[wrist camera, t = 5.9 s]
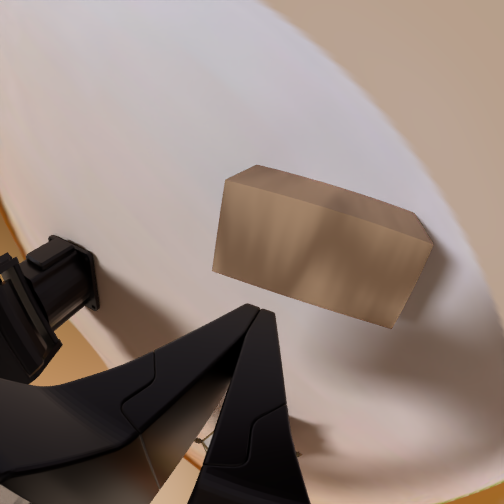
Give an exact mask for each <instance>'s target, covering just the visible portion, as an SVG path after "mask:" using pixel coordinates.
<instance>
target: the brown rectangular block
mask: <svg viewBox="0 0 504 504" xmlns="http://www.w3.org/2000/svg"><path fill="white" fill-rule="evenodd" d="M433 245H434V244H433V243H432V241H431V239H430V238H429V236H428V234H427V233H426V231H425V229H424V228H423V226H422V225H421V223H420V221H419V220H418V218H417V217H416V215H415V214H414V213H413V212H411V211H408V210H405V209H402V208H400V207H397V206H394V205H391V204H388V203H386V202H383V201H380V200H377V199H374V198H371V197H368V196H365V195H362V194H359V193H356V192H353V191H349V190H346V189H343V188H340V187H337V186H333V185H330V184H327V183H323V182H320V181H316V180H313V179H309V178H306V177H302V176H299V175H295V174H291V173H288V172H284V171H280V170H276V169H272V168H268V167H264V166H260V165H255V166H253V167H251V168H249V169H247V170H245V171H242V172H240V173H238V174H236V175H234V176H232V177H230V178H228V179H226V180H225V185H224V191H223V198H222V204H221V211H220V218H219V225H218V232H217V239H216V246H215V253H214V261H213V268H212V271H214V272H216V273H219V274H222V275H225V276H228V277H231V278H234V279H237V280H240V281H242V282H245V283H248V284H251V285H254V286H257V287H260V288H263V289H266V290H269V291H272V292H275V293H278V294H281V295H284V296H287V297H290V298H293V299H296V300H300V301H303V302H306V303H309V304H312V305H315V306H318V307H321V308H325V309H328V310H331V311H334V312H337V313H340V314H344V315H347V316H350V317H353V318H357V319H360V320H363V321H367V322H370V323H373V324H377V325H380V326H383V327H387V328H390V329H392V328H393V326H394V324H395V322H396V320H397V319H398V317H399V315H400V313H401V311H402V310H403V308H404V306H405V304H406V302H407V300H408V298H409V296H410V294H411V292H412V290H413V288H414V286H415V284H416V282H417V280H418V278H419V276H420V274H421V272H422V270H423V268H424V265H425V263H426V261H427V259H428V257H429V254H430V252H431V250H432V247H433Z"/></svg>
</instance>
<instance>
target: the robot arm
mask: <svg viewBox="0 0 504 504" xmlns="http://www.w3.org/2000/svg"><path fill="white" fill-rule="evenodd" d="M48 240H49V242H48V243H46V244H44V245H42V246H40V247H39V248H37V249H35V250H33V251H32V252H30V253H28V254H27V255H26V260H25V261H23V262H22V263H20V264H19V261H18V259H17V257H15V258H13V259H12V257H11V256H10V255H9V254H8V253H5V254H4V255H2V256H0V274H1V275H2V277H3V279H4V281H3V282H2V280H1V279H0V504H150V503H151V501H152V500H153V498H154V497H155V496H156V494H157V493H158V491H159V489H161V487H162V486H163V485H164V483H165V482H166V480H167V479H168V478H169V476H170V475H171V473H172V472H173V471H174V469H175V467H176V466H177V465H178V463H179V462H180V460H181V459H182V458H183V456H184V455H185V453H186V452H187V450H188V449H189V447H190V446H191V444H192V443H193V442H194V440H195V439H196V437H197V436H198V434H199V433H200V431H201V430H202V428H203V427H204V425H205V424H206V422H207V420H208V419H209V417H210V416H211V414H212V413H213V411H214V410H215V408H216V407H217V405H218V403H219V402H220V400H221V399H222V397H223V396H224V394H225V393H226V391H227V393H226V396H225V399H224V402H223V405H222V408H221V411H220V414H219V417H218V420H217V423H216V426H215V429H214V432H213V435H212V438H211V441H210V444H209V447H208V450H207V453H206V456H205V459H204V462H203V466H202V467H201V470H200V473H199V476H198V479H197V481H196V484H195V487H194V489H193V492H192V494H191V496H190V498H189V501H188V503H187V504H311V503H310V500H309V497H308V494H307V490H306V487H305V483H304V480H303V476H302V473H301V469H300V466H299V462H298V459H297V455H296V452H295V447H294V443H293V439H292V435H291V429H290V422H289V416H288V408H287V405H286V404H287V401H286V393H285V385H284V377H283V369H282V362H281V354H280V346H279V339H278V331H277V324H276V316H275V313H274V312H271V311H268V310H266V309H261V310H260V308H259V307H257V306H254V305H251V304H248V303H247V304H244V305H242V306H240V307H239V308H237V309H235V310H233V311H231V312H229V313H227V314H225V315H223V316H221V317H220V318H218V319H216V320H214V321H212V322H210V323H208V324H206V325H204V326H202V327H200V328H198V329H196V330H194V331H192V332H190V333H188V334H186V335H184V336H182V337H180V338H178V339H176V340H174V341H172V342H170V343H168V344H166V345H164V346H162V347H160V348H158V349H156V350H155V351H154V352H150V353H148V354H146V355H143V356H141V357H139V358H137V359H135V360H132V361H130V362H128V363H125V364H123V365H120V366H118V367H115V368H112V369H109V370H106V371H103V372H100V373H97V374H94V375H91V376H88V377H85V378H81V379H78V380H75V381H71V382H68V383H65V384H61V385H56V386H44V387H43V386H33V385H28V384H30V383H31V382H32V381H34V380H35V379H36V378H37V377H38V376H39V375H40V374H41V373H42V371H43V370H44V369H45V367H46V366H47V365H48V363H49V362H50V361H51V359H52V358H53V357H54V356H55V354H56V353H57V352H58V350H59V349H60V348H61V346H62V345H63V344H62V343H61V341H60V339H58V338H57V336H56V334H55V333H54V331H55V330H56V329H57V328H58V327H60V326H61V325H62V324H63V323H64V322H65V321H67V320H68V319H69V318H70V317H72V316H73V315H74V314H75V313H76V312H78V311H79V310H80V309H81V308H83V307H84V306H87V307H88V308H90V309H92V310H94V311H97V310H98V309H99V308H100V307H99V300H98V294H97V287H96V280H95V272H94V264H93V257H92V254H91V253H90V252H88V251H86V250H84V249H82V248H80V247H77V246H75V245H73V244H71V243H69V242H67V241H65V240H63V239H61V238H59V237H57V236H55V235H51V236H49V238H48ZM227 389H228V390H227Z"/></svg>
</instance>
